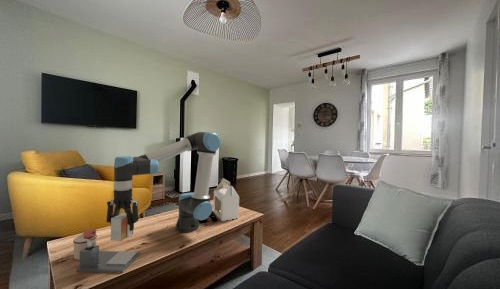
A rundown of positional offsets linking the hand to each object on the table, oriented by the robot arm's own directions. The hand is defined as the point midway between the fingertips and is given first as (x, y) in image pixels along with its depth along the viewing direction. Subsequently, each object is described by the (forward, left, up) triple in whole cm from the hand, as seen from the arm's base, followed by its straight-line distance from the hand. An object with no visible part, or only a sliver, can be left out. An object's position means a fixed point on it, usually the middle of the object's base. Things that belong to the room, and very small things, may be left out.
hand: (122, 236), depth 98 cm
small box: (0, 0, -1) cm, 1 cm away
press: (+5, +1, -12) cm, 13 cm away
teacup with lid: (+22, -6, -13) cm, 26 cm away
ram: (+12, +4, -6) cm, 14 cm away
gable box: (-43, -63, -13) cm, 77 cm away
